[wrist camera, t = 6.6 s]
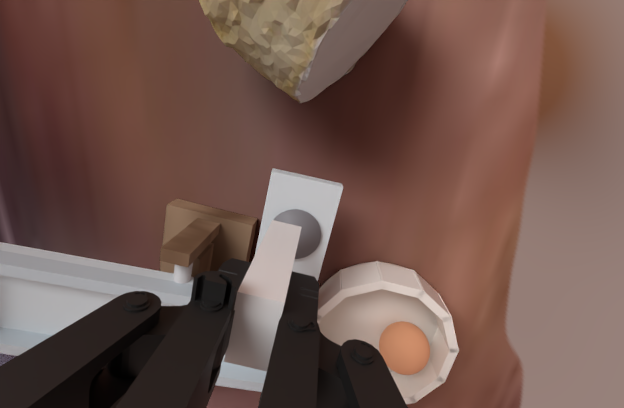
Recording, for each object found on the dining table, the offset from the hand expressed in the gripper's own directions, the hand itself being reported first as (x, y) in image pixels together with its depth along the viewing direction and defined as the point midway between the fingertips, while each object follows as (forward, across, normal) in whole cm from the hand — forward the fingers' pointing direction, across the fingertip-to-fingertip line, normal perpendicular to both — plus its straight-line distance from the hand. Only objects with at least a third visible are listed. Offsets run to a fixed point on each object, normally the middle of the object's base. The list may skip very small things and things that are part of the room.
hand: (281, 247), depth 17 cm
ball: (+5, +10, -8) cm, 13 cm away
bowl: (+7, +8, -8) cm, 13 cm away
